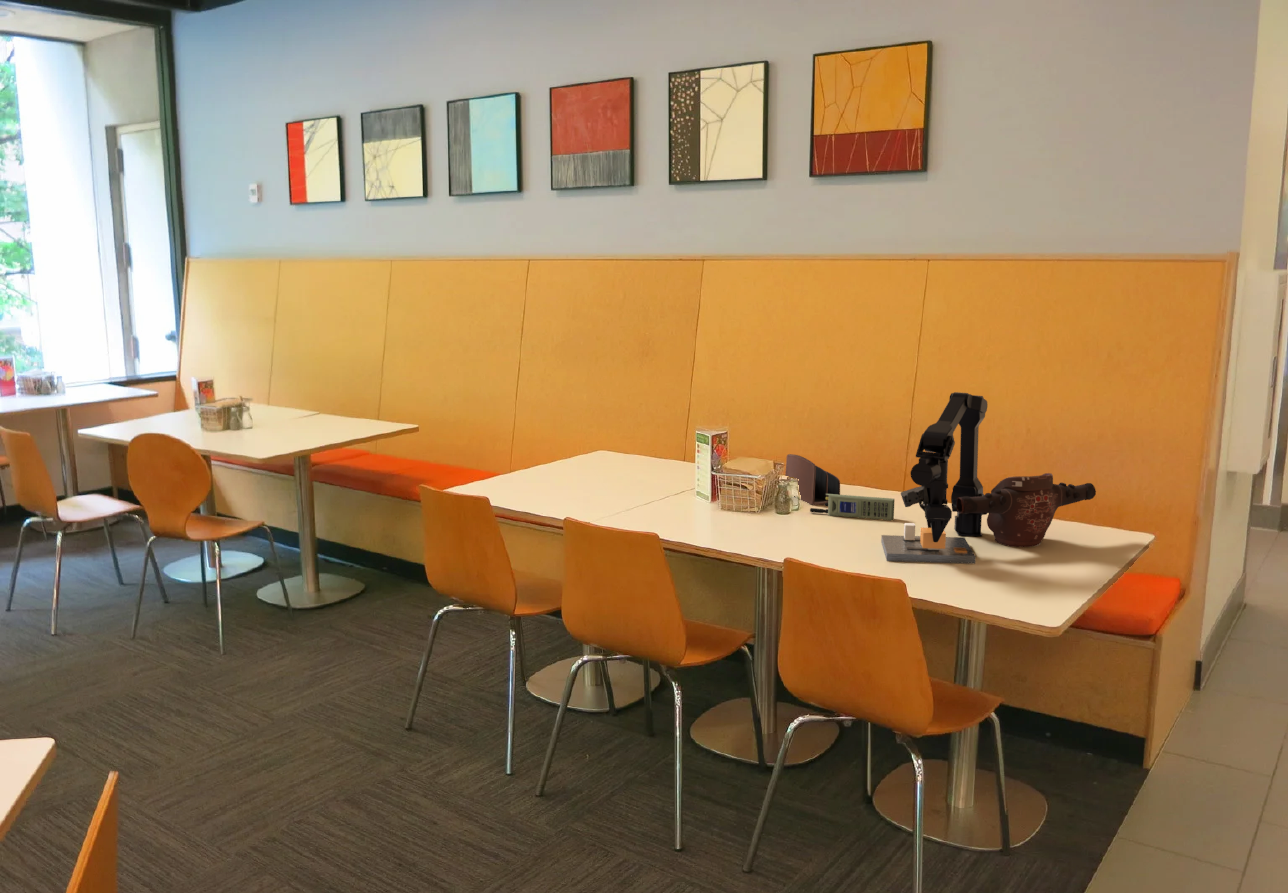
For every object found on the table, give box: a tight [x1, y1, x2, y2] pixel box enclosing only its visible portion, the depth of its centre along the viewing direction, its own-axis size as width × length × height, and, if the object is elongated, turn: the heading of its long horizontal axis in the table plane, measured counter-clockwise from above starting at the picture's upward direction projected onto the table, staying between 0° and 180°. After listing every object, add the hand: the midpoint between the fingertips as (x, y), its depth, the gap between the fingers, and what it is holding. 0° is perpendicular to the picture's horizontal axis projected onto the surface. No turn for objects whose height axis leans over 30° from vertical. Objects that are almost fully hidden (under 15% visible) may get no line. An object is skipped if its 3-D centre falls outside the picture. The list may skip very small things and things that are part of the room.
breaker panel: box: [880, 534, 976, 565], centre depth 277 cm, size 22×18×2 cm
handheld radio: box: [809, 494, 895, 521], centre depth 316 cm, size 7×3×25 cm
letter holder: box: [785, 453, 841, 506], centre depth 340 cm, size 10×20×14 cm, turn 19°
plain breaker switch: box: [903, 522, 916, 540], centre depth 282 cm, size 3×3×4 cm
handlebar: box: [956, 472, 1097, 548], centre depth 283 cm, size 45×13×20 cm, turn 111°
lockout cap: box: [919, 527, 947, 549], centre depth 273 cm, size 6×6×4 cm
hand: (933, 537), depth 273 cm, fingers open, 9 cm apart
